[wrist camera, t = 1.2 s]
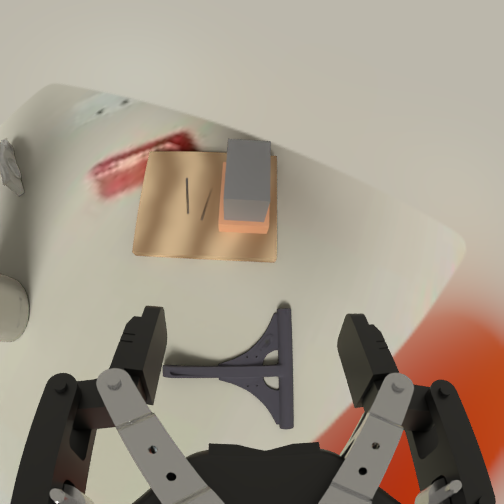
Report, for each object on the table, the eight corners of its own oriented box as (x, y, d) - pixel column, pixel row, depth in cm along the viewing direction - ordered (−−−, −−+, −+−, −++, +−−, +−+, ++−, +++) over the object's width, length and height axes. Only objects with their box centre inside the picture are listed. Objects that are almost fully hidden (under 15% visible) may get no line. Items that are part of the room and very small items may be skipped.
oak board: (135, 255, 37) (132, 252, 35) (152, 157, 40) (149, 151, 39) (274, 262, 38) (276, 259, 36) (274, 162, 41) (276, 156, 40)
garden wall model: (7, 151, 39) (-10, 134, 34) (14, 145, 40) (-2, 127, 34) (19, 199, 37) (-2, 182, 32) (27, 192, 38) (7, 175, 32)
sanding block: (218, 231, 36) (216, 203, 29) (223, 172, 39) (222, 134, 31) (266, 233, 37) (276, 206, 29) (267, 174, 39) (276, 138, 31)
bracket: (165, 309, 36) (160, 307, 33) (289, 309, 37) (294, 307, 34) (168, 425, 32) (163, 432, 29) (291, 424, 33) (296, 430, 30)
